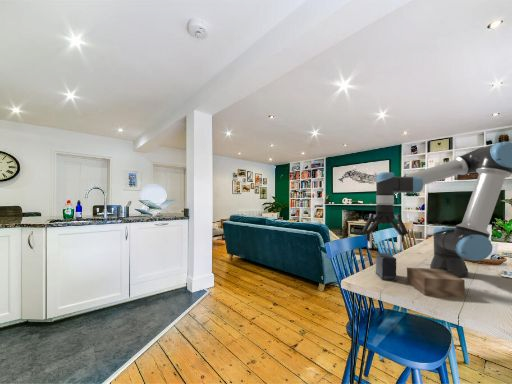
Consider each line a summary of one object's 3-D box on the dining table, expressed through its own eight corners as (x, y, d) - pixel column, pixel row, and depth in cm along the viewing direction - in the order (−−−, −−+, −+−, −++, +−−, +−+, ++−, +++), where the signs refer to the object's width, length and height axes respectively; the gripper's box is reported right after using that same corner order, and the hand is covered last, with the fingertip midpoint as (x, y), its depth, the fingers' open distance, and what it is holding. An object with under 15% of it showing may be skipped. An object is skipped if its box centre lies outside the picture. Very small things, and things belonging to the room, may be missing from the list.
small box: (397, 281, 106) (397, 258, 107) (382, 280, 108) (381, 257, 108) (389, 273, 117) (388, 252, 117) (375, 273, 118) (374, 252, 118)
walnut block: (441, 285, 103) (441, 269, 103) (464, 298, 89) (464, 280, 89) (407, 283, 105) (406, 267, 105) (424, 296, 91) (424, 278, 91)
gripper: (408, 204, 115) (407, 247, 115) (355, 203, 118) (355, 245, 118) (416, 205, 108) (416, 251, 107) (360, 203, 111) (360, 248, 110)
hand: (384, 248), depth 113 cm, fingers open, 13 cm apart
